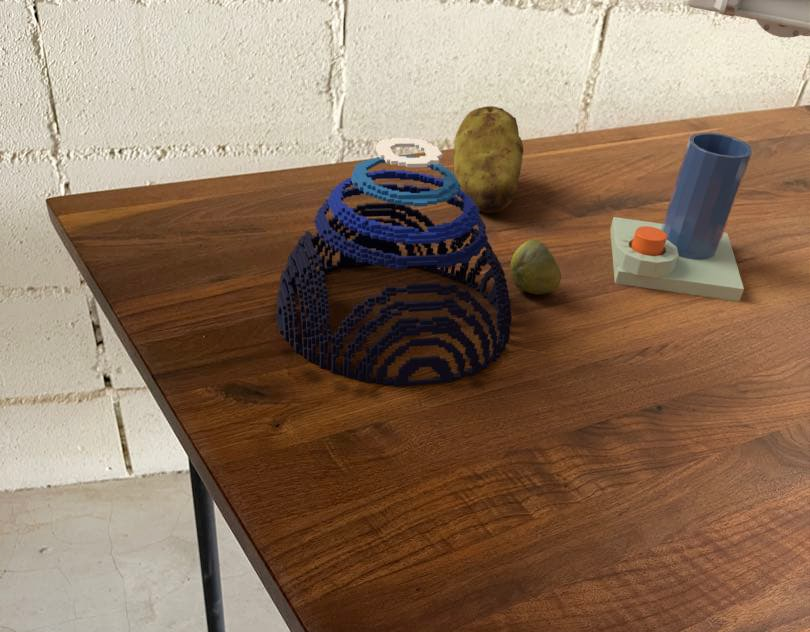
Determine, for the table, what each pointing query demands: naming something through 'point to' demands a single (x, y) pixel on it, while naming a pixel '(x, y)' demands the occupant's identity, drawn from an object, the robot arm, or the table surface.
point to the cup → (705, 193)
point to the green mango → (535, 268)
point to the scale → (673, 266)
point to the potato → (488, 158)
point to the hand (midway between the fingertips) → (777, 15)
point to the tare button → (649, 241)
